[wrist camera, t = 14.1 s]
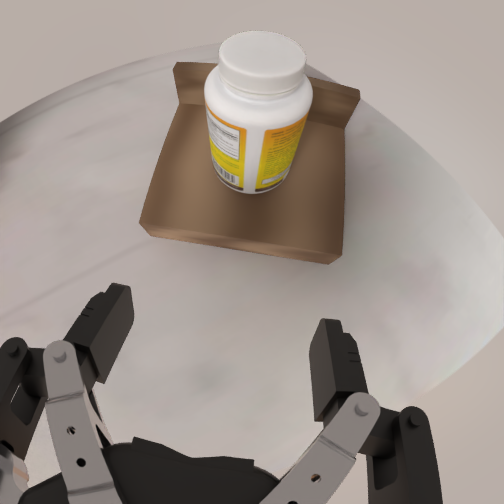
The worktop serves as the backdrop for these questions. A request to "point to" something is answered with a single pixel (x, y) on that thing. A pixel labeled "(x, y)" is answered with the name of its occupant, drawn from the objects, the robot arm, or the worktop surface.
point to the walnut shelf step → (252, 205)
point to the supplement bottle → (256, 109)
